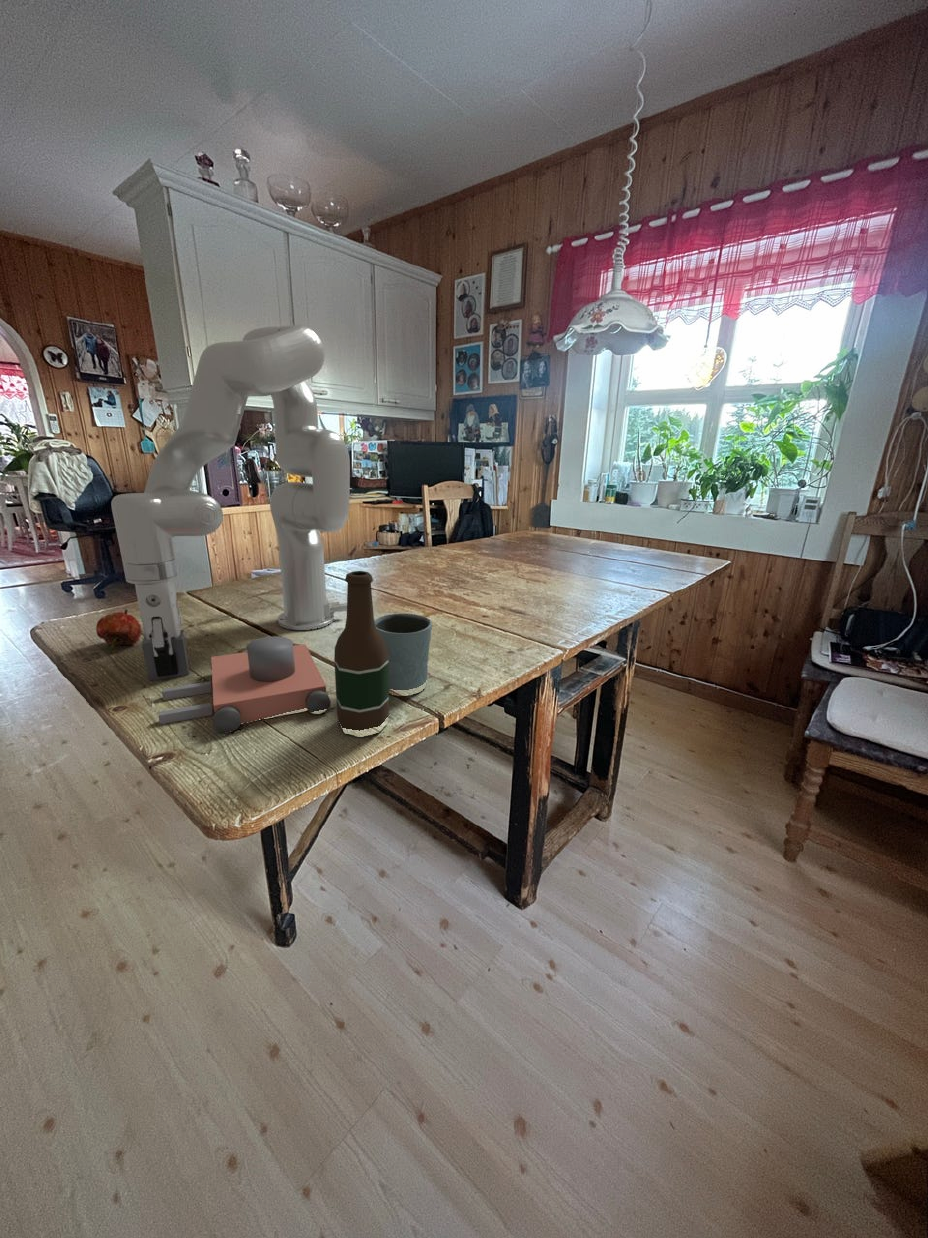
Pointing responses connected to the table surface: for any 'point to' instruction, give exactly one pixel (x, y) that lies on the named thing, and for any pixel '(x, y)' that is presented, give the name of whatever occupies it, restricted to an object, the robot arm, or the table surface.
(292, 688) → the toy tractor cart
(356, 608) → the beer bottle
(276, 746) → the table surface
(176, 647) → the dark grey rounded cube
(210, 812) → the table surface
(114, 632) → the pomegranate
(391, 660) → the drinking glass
